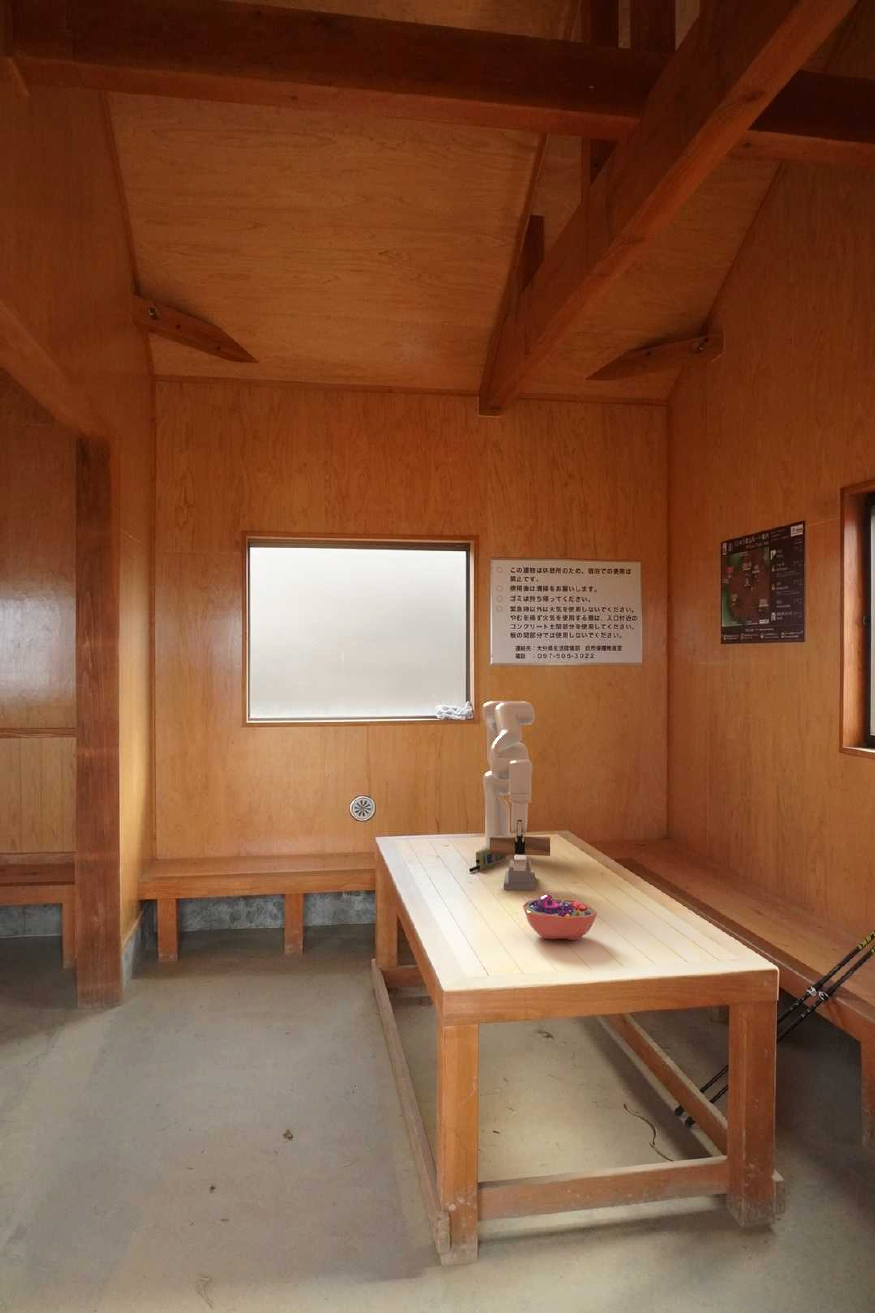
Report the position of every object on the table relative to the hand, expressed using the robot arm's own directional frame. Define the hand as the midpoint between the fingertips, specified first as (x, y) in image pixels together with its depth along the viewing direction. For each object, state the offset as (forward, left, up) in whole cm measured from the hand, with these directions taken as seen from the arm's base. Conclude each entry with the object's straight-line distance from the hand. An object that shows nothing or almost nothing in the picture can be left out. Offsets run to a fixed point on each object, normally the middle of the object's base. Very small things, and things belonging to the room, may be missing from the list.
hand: (520, 851), depth 276 cm
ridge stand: (0, 0, -11) cm, 11 cm away
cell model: (+53, +12, -11) cm, 55 cm away
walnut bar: (0, 0, -1) cm, 1 cm away
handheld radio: (-23, -12, -11) cm, 28 cm away
